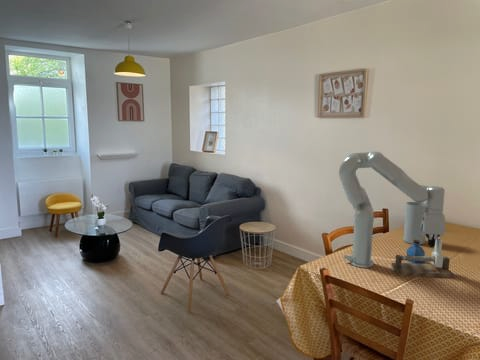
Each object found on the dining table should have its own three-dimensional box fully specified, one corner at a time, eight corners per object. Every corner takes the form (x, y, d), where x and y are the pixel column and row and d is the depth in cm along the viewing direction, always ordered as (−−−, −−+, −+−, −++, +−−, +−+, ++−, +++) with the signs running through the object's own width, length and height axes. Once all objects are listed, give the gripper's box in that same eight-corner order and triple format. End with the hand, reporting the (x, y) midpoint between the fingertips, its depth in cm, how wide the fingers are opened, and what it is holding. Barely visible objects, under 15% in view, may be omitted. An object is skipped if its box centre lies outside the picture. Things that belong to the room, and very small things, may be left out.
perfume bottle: (414, 264, 192) (416, 243, 191) (406, 260, 198) (407, 239, 196) (423, 263, 194) (425, 242, 192) (415, 259, 200) (417, 238, 198)
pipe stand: (398, 275, 178) (399, 259, 177) (391, 266, 190) (392, 251, 189) (453, 277, 175) (455, 261, 174) (442, 268, 187) (443, 253, 186)
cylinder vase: (428, 245, 223) (431, 206, 219) (408, 244, 223) (411, 206, 219) (419, 238, 235) (422, 201, 231) (400, 238, 236) (402, 201, 232)
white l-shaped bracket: (435, 267, 178) (438, 240, 176) (430, 262, 184) (433, 236, 182) (442, 267, 178) (444, 240, 176) (436, 262, 184) (439, 236, 182)
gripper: (421, 212, 174) (418, 248, 177) (453, 213, 173) (450, 249, 176) (415, 209, 182) (413, 243, 185) (446, 209, 180) (443, 244, 183)
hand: (431, 246), depth 180 cm, fingers closed
